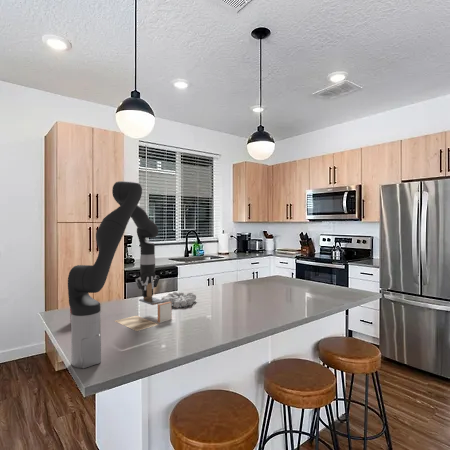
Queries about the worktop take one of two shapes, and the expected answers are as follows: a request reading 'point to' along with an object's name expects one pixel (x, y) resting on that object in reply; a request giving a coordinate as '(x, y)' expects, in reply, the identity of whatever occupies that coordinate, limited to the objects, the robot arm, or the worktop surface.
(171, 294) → the grey lumpy flat piece
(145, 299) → the wooden post with base
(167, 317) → the tile
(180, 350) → the worktop surface
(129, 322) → the board
